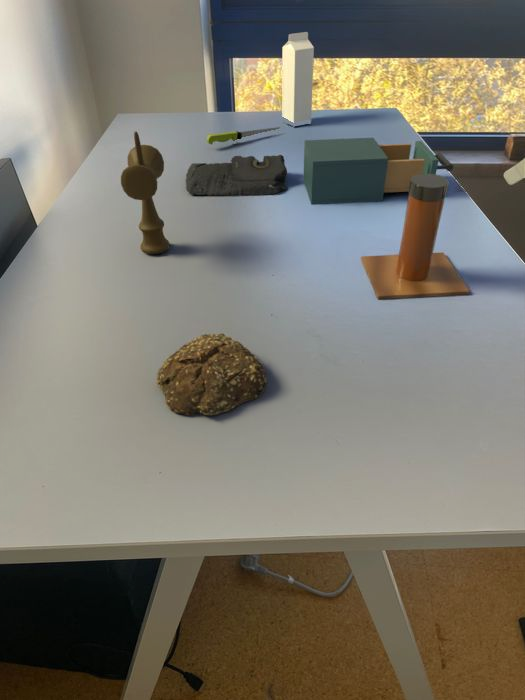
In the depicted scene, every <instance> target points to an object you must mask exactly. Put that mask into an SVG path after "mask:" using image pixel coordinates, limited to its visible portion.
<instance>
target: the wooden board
mask: <svg viewBox="0 0 525 700" xmlns="http://www.w3.org/2000/svg"><path fill="white" fill-rule="evenodd" d="M398 256H399V254H386V255H385V254H384V255H365V256H361V257H360V260H361V263H362V266H363V268H364V270H365V272H366V275H367V278H368V280H369V282H370V285H371V287H372V289H373V291H374V294H375V296H376V298H377V300H389V299H391V300H392V299H409V298H429V297H448V296H465V295H470V292H471V291H470V288H468V286H467V285H466V283H465V282H464V281H463V279H462V277H461V275H460V274H459V273H458V271H457V270H456V269H455V267H454V266H453V265H452V263H451V261H450V260H449V258H448V257H447V255H446V254H445V253H444V252H433V255H432V260H431V265H430V269H429V274H428V277H427V278H426V279H424V280H420V281H410V280H405V279H403V278H401V277H399V276H398V275H397V273H396V268H397V262H398Z"/></svg>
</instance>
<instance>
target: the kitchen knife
mask: <svg viewBox="0 0 525 700" xmlns="http://www.w3.org/2000/svg"><path fill="white" fill-rule="evenodd" d="M280 128H281V126H276V127H270V128H262V129H261V128H260V129H252V130H244V131H238V130H237V131H227V132H221V133H220V132H219V133H212V134H208V135H207V136H206V143H207V144H209V145H213V144H214V143H215V142H218V143H225V142H228V141H230V140H231V141H232V140H233V141H235V140H237V139H241V138H242V137H246V136H251V135H254V134H258V133H262V132H267V131H271V130H276V129H279V130H280Z"/></svg>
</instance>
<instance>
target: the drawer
mask: <svg viewBox="0 0 525 700" xmlns="http://www.w3.org/2000/svg"><path fill="white" fill-rule="evenodd" d="M378 145H379V146H380V148H381V149H382V150H383V152H384V153H385V154H386V156H387V157H388V165H387V172H386V179H385V187H384V194H385V193H404V192H405V193H406V192H407V193H409V187H410V181H411V178H412V177H413V176H415V175H418V174H435V175H437V170H446V172H451V171H453V169H454V165H453V164H452V163H451V161H449V160H448V158H446V156H445V155H444V154H443V153H441V152H437V153H436V154H434V153H433V152H432V151H431V150H430V149H429V148H428V147H427V145H426V144H424V142H423V141H422V140H415V143H414V150H413V155H412V158H411V159H410V157H411V156H410V155H411V149H412V144H411V143H386V144H378ZM439 163H440V164H441V165H439Z"/></svg>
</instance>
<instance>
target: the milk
mask: <svg viewBox="0 0 525 700" xmlns="http://www.w3.org/2000/svg"><path fill="white" fill-rule="evenodd" d="M281 50H282V53H281V54H282V58H281V59H282V61H281V62H282V65H281V66H282V67H281V70H282V71H281V73H282V74H281V79H282V80H281V82H282V83H281V84H282V85H281V86H282V87H281V89H282V90H281V92H282V93H281V94H282V95H281V100H282V101H281V116H282V117H284V118H286V119H288V120H289V121H291V122H293V123H296V122H301V121H305V120H311V121H312V110H313V86H314V85H313V84H314V83H313V80H314V55H315V46H314V45H313V44H312V42H311V41H310V40H309V32H308V31H304V32H303V31H302V32H296V33H295V32H294V33H289V34H288V40H287V42H286V43H284V45H283V46H282V48H281ZM282 117H281V118H282Z"/></svg>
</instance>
